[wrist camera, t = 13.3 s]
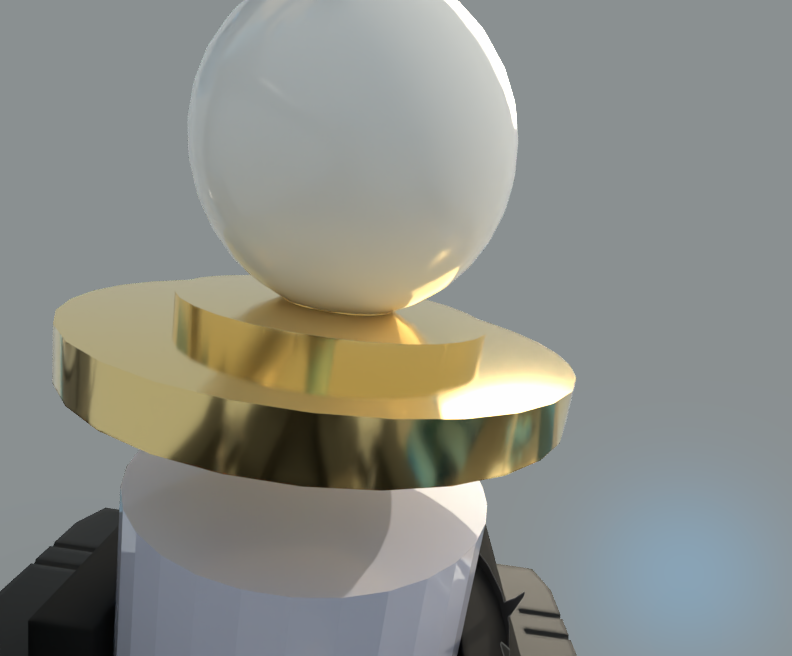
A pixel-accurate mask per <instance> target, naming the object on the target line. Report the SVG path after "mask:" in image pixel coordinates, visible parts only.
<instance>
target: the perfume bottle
mask: <svg viewBox="0 0 792 656" xmlns="http://www.w3.org/2000/svg"><path fill="white" fill-rule="evenodd" d="M187 121H188V147H189V161H190V165H191V169H192V174H193V177H194V182H195V186H196V191H197V195H198V197H199V200H200V202H201V204H202V206H203V208H204V211H205V213H206V215H207V218H208V220H209V222H210V224H211V227H212V229H213V230H214V232H215V233H216V235H217V236H218V237H219V239H220V240H221V242H222V243H223V245H224V246H225V247H226V249H227V250H228V252H229V253H230V255H231V256H232V257H233V258H234V259H235V260H236V261H237V262H238V263H239V264H240V265H241V266H242V267H243V268H244V269H245V270H246V271H247V272H248V273H249V274H250V275H228V276H211V277H202V278H196V279H191V280H175V281H155V282H144V283H135V284H126V285H119V286H114V287H109V288H104V289H99V290H94V291H91V292H88V293H85V294H82V295H80V296H77V297H74V298H72V299H70V300H68V301H67V302H66V303H64V304H63V305H62V306H60V307H59V308H58V309H56V312H55V317H54V322H53V385H54V387H55V389H56V390H57V392H58V394H59V395H60V397H61V399H62V401H63V403H64V404H65V406H66V407H67V408H69V409H70V410H71V411H73V412H74V413H75V414H77V415H78V416H79V417H81V418H82V419H83V420H85V421H86V422H87V423H89V424H90V425H91V426H92V427H94V428H95V429H97V430H98V431H100V432H102V433H104V434H107V435H109V436H111V437H113V438H116V439H118V440H120V441H122V442H125V443H127V444H129V445H131V446H133V447H136V448H138V449H139V450H138V452H137V453H136V454H135V456H134V457H133V459H132V460H131V461H130V463H129V464H128V465H127V467H126V470H125V473H124V476H123V480H122V484H121V487H120V508H119V532H118V556H117V581H116V606H115V631H114V656H457V654H458V649H459V645H460V640H461V635H462V631H463V626H464V621H465V617H466V612H467V607H468V603H469V598H470V593H471V589H472V584H473V579H474V575H475V570H476V565H477V563H478V565H479V566H480V568H481V569H482V570H483V572H484V573H485V574H486V576H487V578H488V580H489V582H490V584H491V587H492V589H493V591H494V593H495V595H496V597H497V599H498V601H499V604H500V609H501V613H502V617H503V622H504V626H505V630H506V645H505V644H503V642H501V644H500V645H501V649H502V652H503V655H504V656H510V649H509V620H508V616H511V614H512V613H513V612H514V610H515V609H516V607H517V606H518V604H519V603H520V601H521V600H522V599H523V597H524V594H525V591H524V592H523V593H521V594H519V595H518V596H517V597H516V598H512V599H510V600H507V601H505V602H504V599H503V595H502V591H501V589H500V587H499V585H498V583H497V581H496V579H495V577H494V575H493V573H492V571H491V569H490V567H489V565H488V564H487V562H486V561H485V560H484V558H483V557H482V556H481V554H480V553H479V551H480V547H481V542H482V537H483V533H484V528H485V523H486V511H487V502H486V499H485V495H484V491H483V487H482V485H481V484H480V482H479V481H480V480H484V479H490V478H495V477H500V476H505V475H507V474H509V473H512V472H514V471H516V470H519V469H521V468H523V467H526V466H528V465H530V464H533V463H535V462H537V461H540V460H541V459H542V458H544V457H545V456H546V455H547V454H548V453H549V452H550V451H551V450H552V449H554V448H555V447H556V446H557V445H558V444H559V443H560V440H561V436H562V434H563V430H564V427H565V423H566V419H567V415H568V411H569V406H570V402H571V399H572V394H573V390H574V386H575V382H576V376H575V375H574V372H573V370H572V368H571V366H570V365H569V364H568V363H567V362H566V361H564V360H563V359H562V358H561V357H560V356H559V355H558V354H556V353H555V352H553V351H551V350H550V349H548V348H546V347H544V346H543V345H541V344H539V343H538V342H535V341H533V340H531V339H529V338H526V337H524V336H522V335H520V334H518V333H515V332H513V331H510V330H507V329H505V328H501V327H499V326H496V325H494V324H491V323H488V322H485V321H481V320H478V319H476V318H475V317H473V316H470V315H468V314H466V313H464V312H462V311H459V310H457V309H454V308H451V307H448V306H446V305H442V304H439V303H435V302H432V301H429V300H425V299H427V298H428V297H430V296H432V295H434V294H436V293H437V292H439V291H441V290H443V289H444V288H446V287H447V286H448V285H450V284H451V283H452V282H453V281H454V280H455V279H456V278H457V277H459V276H460V275H461V274H462V273H463V272H464V271H465V270H467V269H468V268H469V267H470V266H471V265H472V264H473V262H474V261H475V260H476V258H477V257H478V256H479V255H480V253H481V252H482V251H483V249H484V248H485V247H486V245H487V244H488V243H489V242H490V240H491V238H492V236H493V234H494V232H495V230H496V228H497V226H498V224H499V222H500V220H501V218H502V216H503V215H504V213H505V210H506V206H507V203H508V200H509V196H510V193H511V189H512V186H513V183H514V178H515V168H516V158H517V148H518V131H517V119H516V108H515V101H514V98H513V94H512V91H511V88H510V84H509V81H508V78H507V74H506V71H505V68H504V66H503V64H502V63H501V61H500V59H499V57H498V55H497V53H496V52H495V50H494V48H493V46H492V44H491V43H490V40H489V38H488V37H487V35H486V33H485V32H484V30H483V28H482V27H481V26H480V25H479V24H478V23H477V21H476V20H475V19H474V18H473V17H472V16H471V15H470V14H469V13H468V11H467V10H466V9H465V8H464V7H463V6H462V5H461V4H460V3H459V2H458V1H457V0H244V1H242V2H241V3H240V4H239V5H238V6H237V7H236V8H235V9H234V10H233V11H232V12H231V13H230V14H229V15H228V17H227V18H226V20H225V21H224V23H223V24H222V26H221V27H220V29H219V30H218V31H217V33H216V34H215V36H214V37H213V39H212V40H211V42H210V43H209V45H208V46H207V49H206V51H205V54H204V56H203V59H202V61H201V64H200V67H199V69H198V72H197V74H196V77H195V79H194V83H193V89H192V95H191V102H190V107H189V114H188V120H187Z"/></svg>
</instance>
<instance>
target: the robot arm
mask: <svg viewBox="0 0 792 656" xmlns="http://www.w3.org/2000/svg"><path fill="white" fill-rule="evenodd" d="M118 532H119V510H117V509H110V508H104V509H102V510H100V511H98V512H96V513H94V514H92V515H90V516H88V517H86V518H84V519H82V520H80V521H78V522H77V523H75V524H74V525H73V526H72V527H71V528H70V529H69V530H68V531H66V532H65V533H64V534H63V535H62V536H61V537H60V538H59V539H58V540H56V541H55V543H54V546H53V547H52V546H50V547H49V548H48V549H47V550H45V551H44V552H43V553H42V554H41V555H40V556H39V557H38V558H37V559H36V561H35V563H34V564H30V565H29V566H28V567H27V568H26V569H24V570H23V571H22V572H21V573H20V574H19V575H18V576H17V577H16V578H14V579H13V580H12V581H11V582H10V583H9V584H8V585H7V586H6V587H5V588H4V589H2V590H1V591H0V656H114V631H115V606H116V581H117V556H118ZM479 553H480V554H481V556H482V557H483V558H484V560H485V561H486V562H487V564H488V565H489V567H490V569H491V571H492V573H493V575H494V577H495V579H496V581H497V583H498V585H499V587H500V589H501V591H502V595H503V599H504V602H505V601H507V600H510V599H512V598H516V597H517V596H518V595H519V594H521V593H523V592H524V591H525V594H524V597H523V599H522V600H521V601H520V603H519V604H518V606H517V607H516V609H515V610H514V612H513V613H512V614H511V616H508V620H509V649H510V656H576V653H575V650H574V648H573V645H572V643H571V640H568V633H567V630H566V628H565V625H564V623H563V620H562V619H560V612H559V610H558V607H557V605H556V602H555V600H554V597H553V595H552V592H551V590H550V589H549V588H548V587H547V586H546V584H545V583H544V582H543V581H542V580H541V579H540V578H539V576H538V575H537V574H536V573H535V572H534V571H533V570H532V569H528V568H521V567H515V566H508V565H501V564H496V562H495V558H494V554H493V550H492V546H491V543H490V539H489V535H488V532H487V528H486V524H485V528H484V533H483V537H482V542H481V547H480V551H479ZM501 642H503V644H505V645H506V630H505V626H504V622H503V617H502V613H501V609H500V604H499V601H498V599H497V597H496V595H495V593H494V591H493V589H492V587H491V584H490V582H489V580H488V578H487V576H486V574H485V573H484V572H483V570H482V569H481V568H480V566H479V565H478V563H477V565H476V570H475V575H474V579H473V584H472V589H471V593H470V598H469V603H468V607H467V612H466V617H465V621H464V626H463V631H462V635H461V640H460V645H459V649H458V654H457V656H504V655H503V652H502V649H501V645H500V644H501Z"/></svg>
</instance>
